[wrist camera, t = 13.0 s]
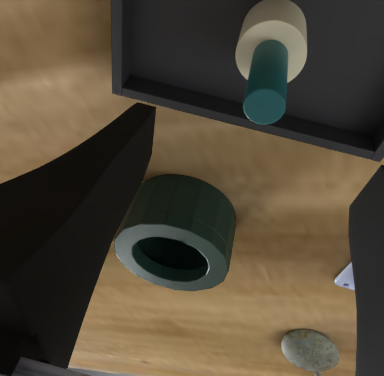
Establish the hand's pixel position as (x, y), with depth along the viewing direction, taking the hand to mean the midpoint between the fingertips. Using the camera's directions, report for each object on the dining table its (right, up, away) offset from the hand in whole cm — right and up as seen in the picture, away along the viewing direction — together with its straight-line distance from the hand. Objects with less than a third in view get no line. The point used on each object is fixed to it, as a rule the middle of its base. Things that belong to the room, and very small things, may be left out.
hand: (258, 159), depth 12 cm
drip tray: (+2, +7, +7) cm, 10 cm away
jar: (-3, -3, +19) cm, 20 cm away
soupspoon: (+15, -25, +37) cm, 47 cm away
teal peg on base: (+2, +7, +7) cm, 10 cm away
